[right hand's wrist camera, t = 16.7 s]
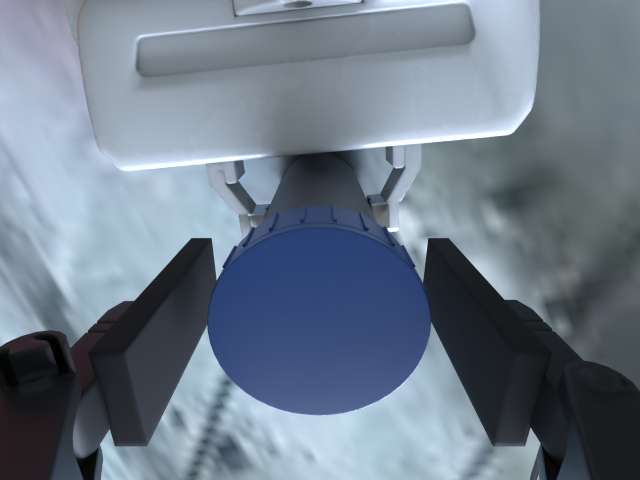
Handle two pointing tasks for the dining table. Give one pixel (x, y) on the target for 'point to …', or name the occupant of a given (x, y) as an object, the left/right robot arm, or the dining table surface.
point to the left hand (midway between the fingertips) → (321, 234)
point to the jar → (319, 186)
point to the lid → (319, 312)
